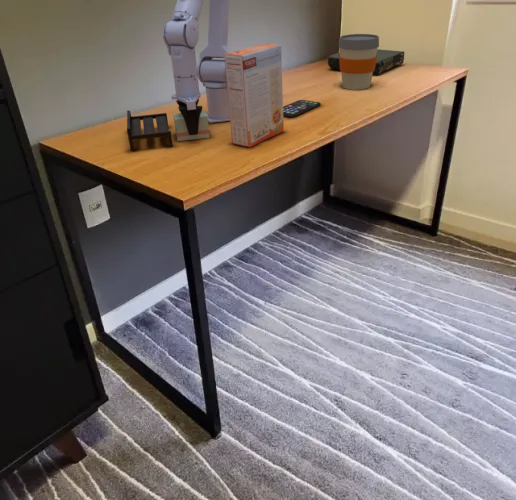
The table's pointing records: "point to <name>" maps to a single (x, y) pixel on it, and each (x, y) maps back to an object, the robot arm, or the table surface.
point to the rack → (147, 127)
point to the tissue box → (183, 132)
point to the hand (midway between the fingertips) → (192, 130)
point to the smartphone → (298, 107)
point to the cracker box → (255, 93)
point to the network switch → (383, 60)
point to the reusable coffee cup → (357, 59)
